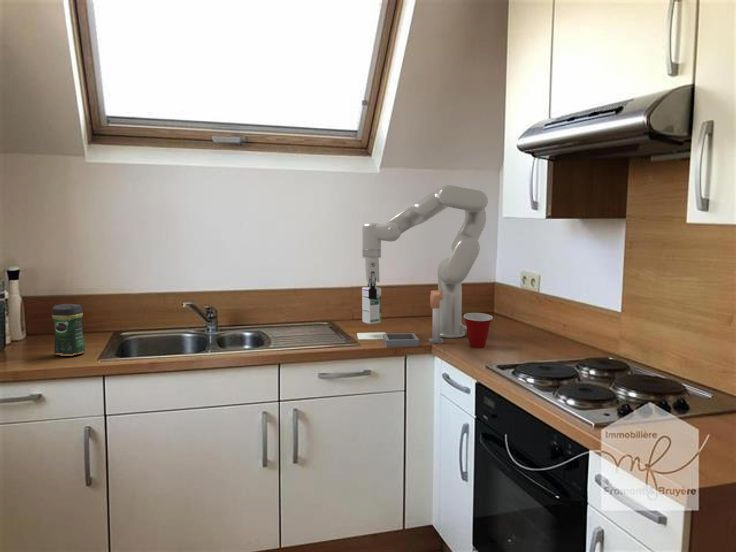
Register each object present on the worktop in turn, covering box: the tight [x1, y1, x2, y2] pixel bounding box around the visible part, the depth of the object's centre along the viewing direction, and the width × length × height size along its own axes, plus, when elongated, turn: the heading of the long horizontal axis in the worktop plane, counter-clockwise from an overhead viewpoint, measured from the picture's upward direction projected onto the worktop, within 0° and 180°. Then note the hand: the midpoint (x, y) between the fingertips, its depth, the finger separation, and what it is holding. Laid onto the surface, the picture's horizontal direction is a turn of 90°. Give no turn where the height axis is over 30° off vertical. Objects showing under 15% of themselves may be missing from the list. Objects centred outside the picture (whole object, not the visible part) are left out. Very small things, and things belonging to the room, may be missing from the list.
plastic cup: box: [463, 312, 494, 349], centre depth 219 cm, size 11×11×12 cm
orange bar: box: [429, 289, 442, 309], centre depth 216 cm, size 25×4×5 cm, turn 172°
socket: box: [382, 301, 445, 348], centre depth 226 cm, size 23×12×16 cm, turn 94°
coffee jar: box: [51, 303, 86, 354], centre depth 210 cm, size 10×8×19 cm
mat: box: [356, 331, 387, 341], centre depth 239 cm, size 12×12×1 cm
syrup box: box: [361, 286, 382, 325], centre depth 238 cm, size 6×6×14 cm
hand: (371, 297), depth 237 cm, fingers closed on syrup box, 7 cm apart
